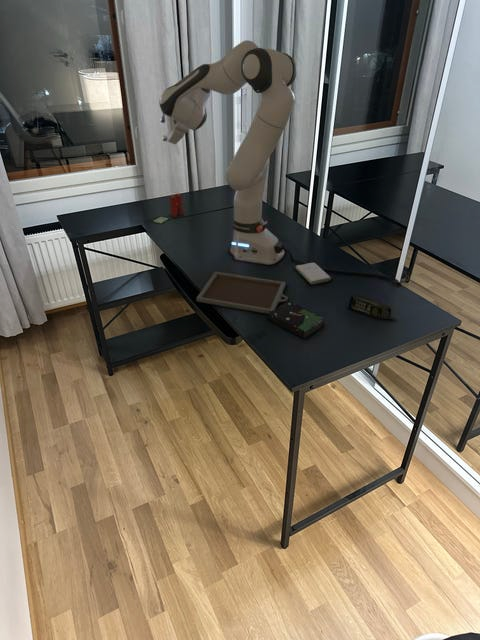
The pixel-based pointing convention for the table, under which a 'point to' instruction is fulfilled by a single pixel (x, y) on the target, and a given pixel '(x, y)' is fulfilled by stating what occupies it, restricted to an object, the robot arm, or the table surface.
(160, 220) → the tile
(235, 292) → the brown grey flat panel
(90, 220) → the table surface
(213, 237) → the table surface
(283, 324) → the disk drive
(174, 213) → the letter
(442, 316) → the table surface
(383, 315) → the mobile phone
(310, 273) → the hard drive
